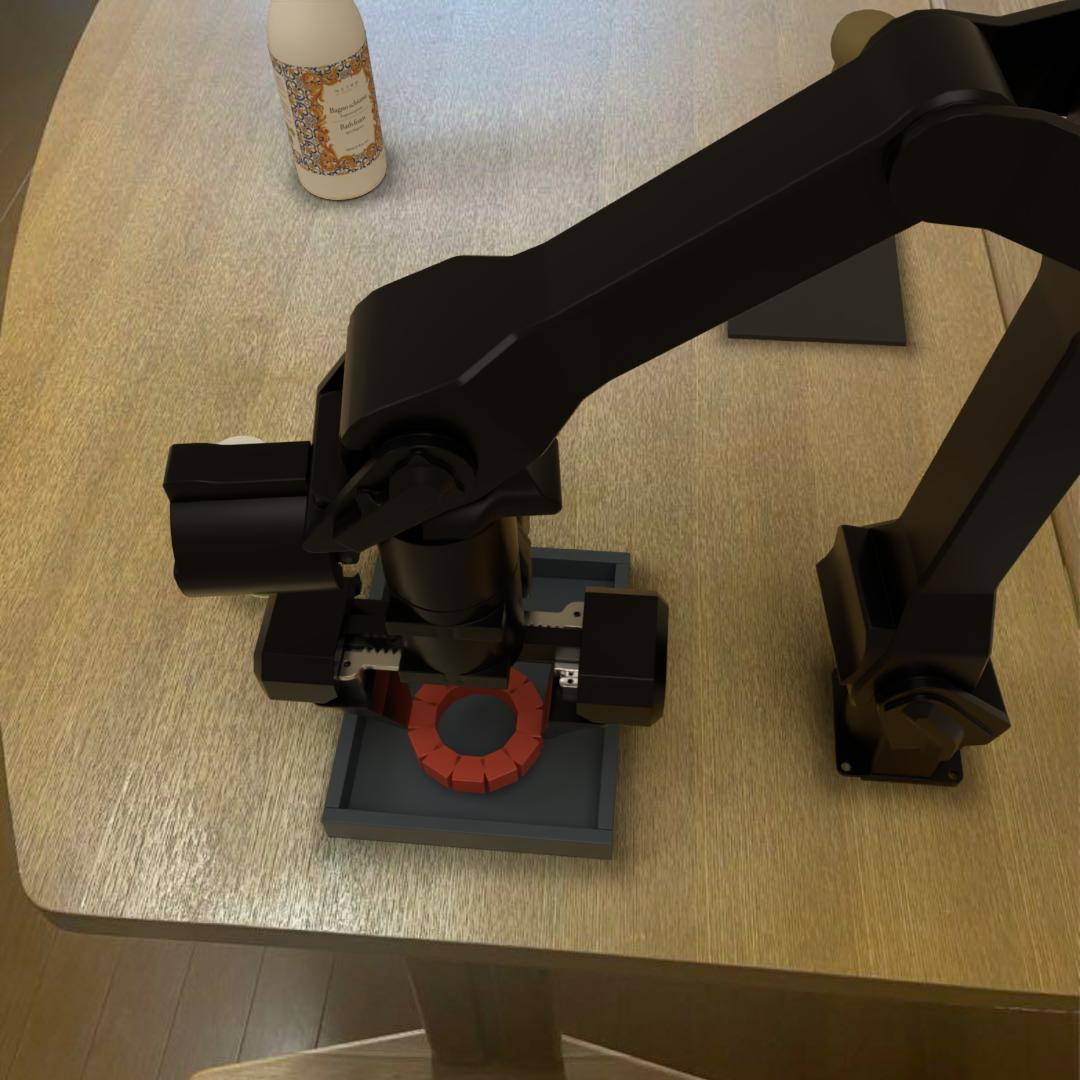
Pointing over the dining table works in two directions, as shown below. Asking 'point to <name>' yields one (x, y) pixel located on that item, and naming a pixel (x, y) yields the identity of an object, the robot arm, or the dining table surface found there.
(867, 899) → the dining table surface
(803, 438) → the dining table surface
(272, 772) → the dining table surface
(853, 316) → the mat
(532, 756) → the ring
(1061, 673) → the dining table surface
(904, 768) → the robot arm
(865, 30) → the cork
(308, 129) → the bath foam
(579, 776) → the tray
